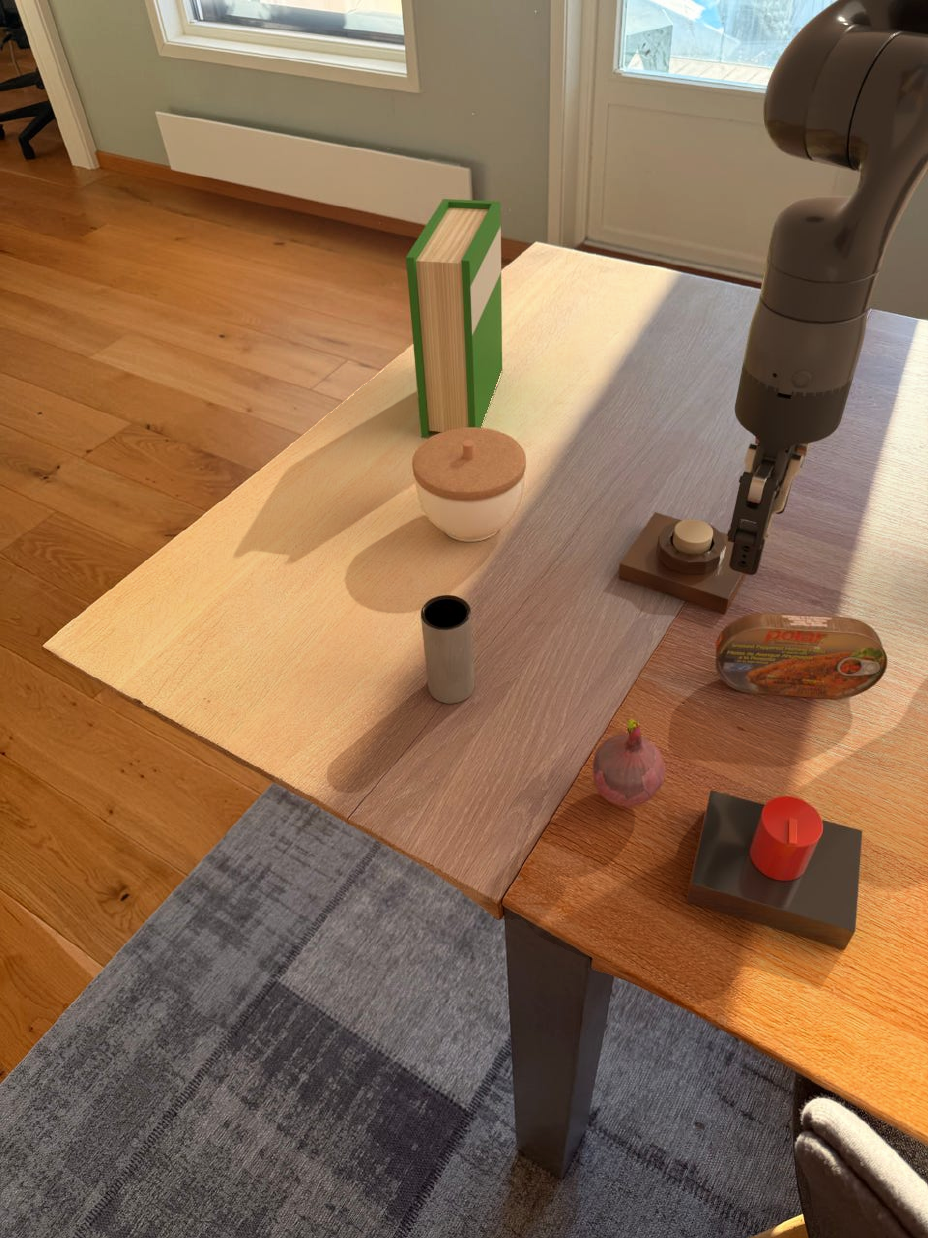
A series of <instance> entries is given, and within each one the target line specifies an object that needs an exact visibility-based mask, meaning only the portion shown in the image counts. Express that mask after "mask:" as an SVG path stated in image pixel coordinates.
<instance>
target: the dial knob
mask: <svg viewBox="0 0 928 1238" xmlns="http://www.w3.org/2000/svg"><path fill="white" fill-rule="evenodd" d="M822 820H823V819H822V817H821V815H820V813H819V812H818V811H817V809H815V807H814V806H813V805H812V804H810V803H809V802H807V801H806V800H804V799H802V798H798V797H795V796H791V795H782V796H777V797H774V798H771V799H770V800H768V801H767V802H766V803H765V806H764V808H763V810H762V813H761V816H760V819H759V822H758V824H757V827H756V830H755V833H754V836H753V839H752V842H751V845H750V856H751V859H752V861H753V863H754V865H755V866H756V867H757V869H758V870H759V871H760V872H762V873H763V874H764V875H766V876H768V877H770V878H772V879H775V880H780V881H790V880H794V879H797V878H798V877H800V876H801V875H803V873H804V872H805V871H806V869H807V867H808V864H809V862H810V860H811V858H812V855H813V853H814V851H815V848H816V846H817V844H818V842H819V839H820V837H821V835H822V832H823V823H822Z"/></svg>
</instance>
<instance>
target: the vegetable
mask: <svg viewBox="0 0 928 1238" xmlns="http://www.w3.org/2000/svg"><path fill="white" fill-rule="evenodd" d="M627 724H628V727H627V732H628V733H621V734H620V733H619V734H615V735H613V736H610V737H608V738H607V739H605V740H604V741H603V742H602V743H601V744H600V745H599V746H598V747H597V748H596V750H595V753H594V756H593V760H592V777H593V782H594V784H595V787H596V789H597V792H598V793H599V794H600V795H601V796H602V797H603V798H604V800H606V801H608V802H610V803H611V804H613V805H617V806H619V807H627V808H628V807H629V808H631V807H637V806H640V805H644V804H645V803H647V802H649V801H650V800H652V799H653V798H654V797H655V796H656V795H657V793H658V792H659V791H660V789H661V788H662V787H663V784H664V781H665V778H666V765H665V761H664V759H663V755H662V753H661V751H660V750H659V748H658V747H657V746H656V745H655V744H654V742H652V741H650V740H649V739H647V738H646V737H643V736H642V731H641V727H640V722H639V721H637V722H636V720H634V719H633V718H629V719H628V721H627Z"/></svg>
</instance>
